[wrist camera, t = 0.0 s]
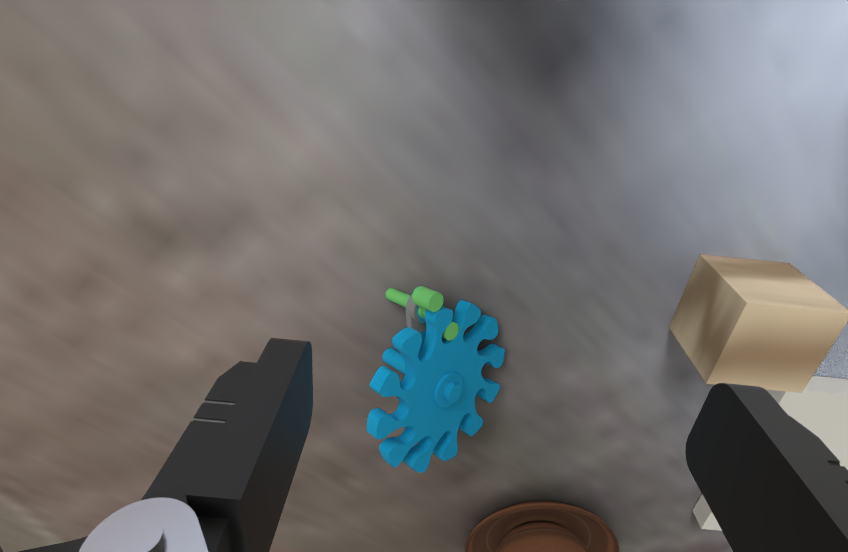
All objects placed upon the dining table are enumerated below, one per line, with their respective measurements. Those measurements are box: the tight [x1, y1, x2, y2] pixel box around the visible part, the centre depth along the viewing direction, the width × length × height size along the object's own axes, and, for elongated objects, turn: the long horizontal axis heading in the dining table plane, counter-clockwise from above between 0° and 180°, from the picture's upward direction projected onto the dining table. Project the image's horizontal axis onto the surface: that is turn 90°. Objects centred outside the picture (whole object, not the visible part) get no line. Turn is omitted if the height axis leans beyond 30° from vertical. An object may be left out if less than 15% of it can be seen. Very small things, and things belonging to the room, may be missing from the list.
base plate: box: [692, 376, 848, 531], centre depth 34 cm, size 14×14×2 cm
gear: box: [367, 286, 505, 473], centre depth 29 cm, size 11×6×10 cm
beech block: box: [669, 254, 848, 393], centre depth 26 cm, size 5×5×5 cm
